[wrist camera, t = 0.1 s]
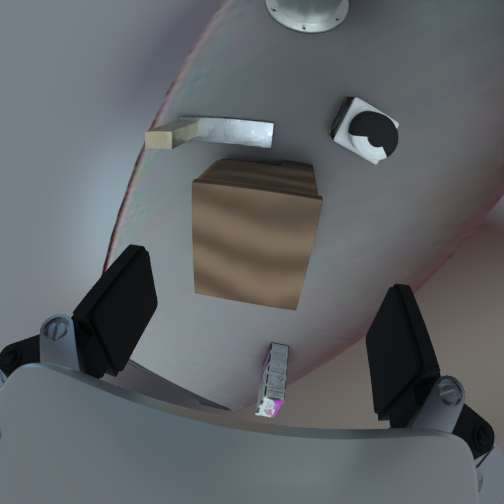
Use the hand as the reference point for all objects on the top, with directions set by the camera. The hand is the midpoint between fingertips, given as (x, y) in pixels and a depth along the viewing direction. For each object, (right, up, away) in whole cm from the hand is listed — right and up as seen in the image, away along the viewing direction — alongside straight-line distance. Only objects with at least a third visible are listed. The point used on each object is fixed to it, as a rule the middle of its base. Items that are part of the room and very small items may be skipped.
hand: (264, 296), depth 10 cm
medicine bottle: (+16, +21, +28) cm, 38 cm away
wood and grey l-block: (-5, +21, +31) cm, 38 cm away
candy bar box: (+6, -26, +60) cm, 66 cm away
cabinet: (+2, +10, +37) cm, 39 cm away
